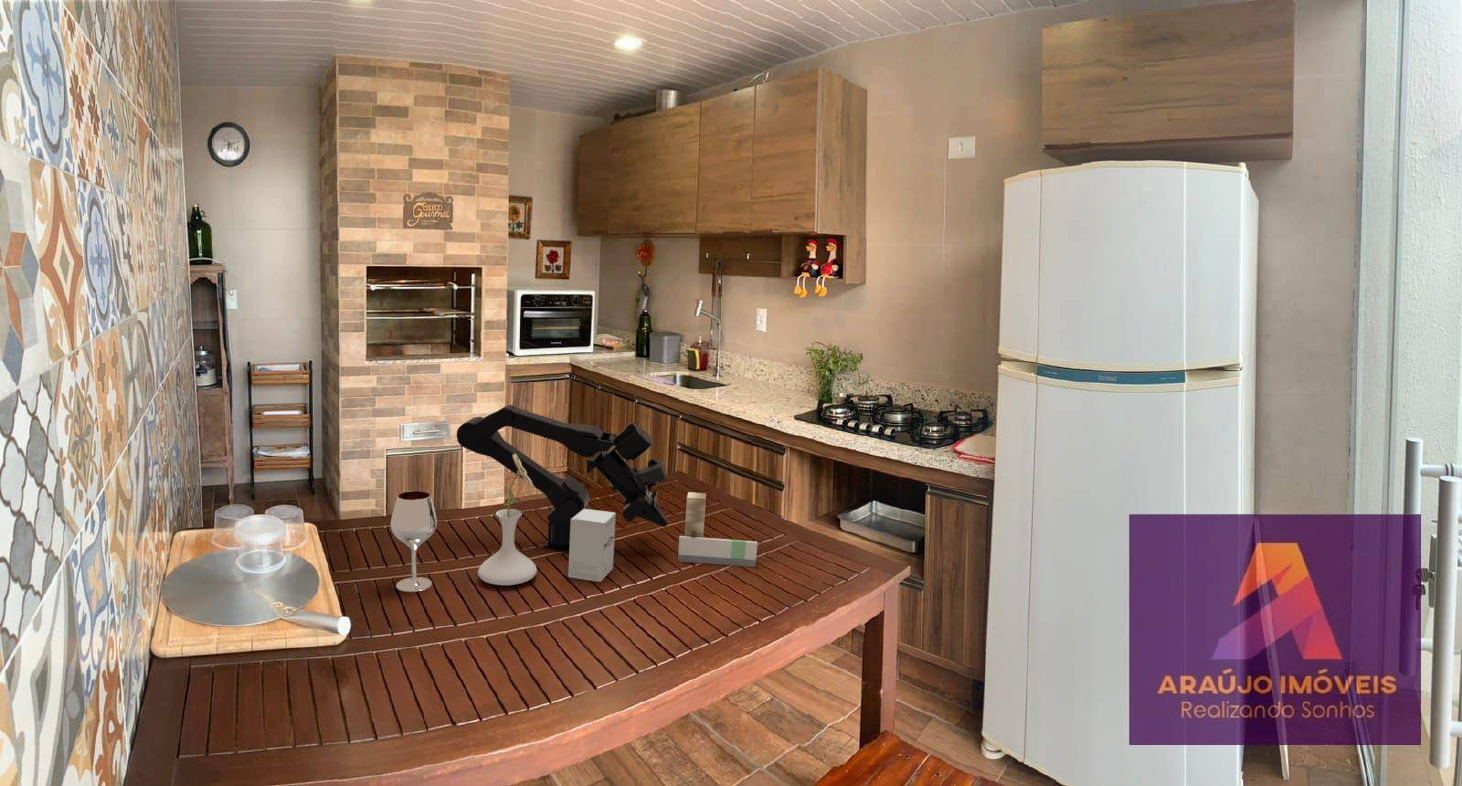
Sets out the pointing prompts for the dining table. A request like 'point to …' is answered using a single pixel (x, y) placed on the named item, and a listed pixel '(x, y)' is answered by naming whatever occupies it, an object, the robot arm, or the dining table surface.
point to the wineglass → (413, 530)
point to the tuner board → (717, 551)
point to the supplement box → (591, 545)
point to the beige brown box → (695, 514)
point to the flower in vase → (509, 546)
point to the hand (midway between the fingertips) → (666, 525)
